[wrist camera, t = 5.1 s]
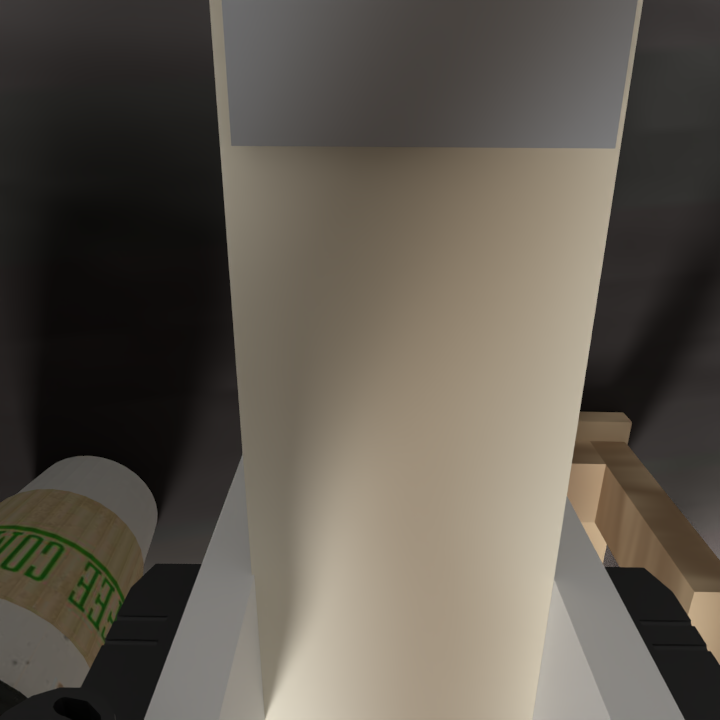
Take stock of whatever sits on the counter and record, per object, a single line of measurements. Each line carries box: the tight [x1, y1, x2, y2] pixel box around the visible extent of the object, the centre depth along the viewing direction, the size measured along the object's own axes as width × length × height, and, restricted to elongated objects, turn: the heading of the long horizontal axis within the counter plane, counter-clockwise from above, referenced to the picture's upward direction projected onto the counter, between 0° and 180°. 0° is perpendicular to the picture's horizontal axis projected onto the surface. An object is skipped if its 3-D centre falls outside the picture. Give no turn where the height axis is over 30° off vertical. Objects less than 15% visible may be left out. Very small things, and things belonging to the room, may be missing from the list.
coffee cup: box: [0, 456, 158, 716], centre depth 24 cm, size 10×10×15 cm
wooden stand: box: [567, 412, 720, 664], centre depth 27 cm, size 9×20×10 cm, turn 179°
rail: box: [209, 0, 643, 720], centre depth 11 cm, size 4×20×5 cm, turn 0°
